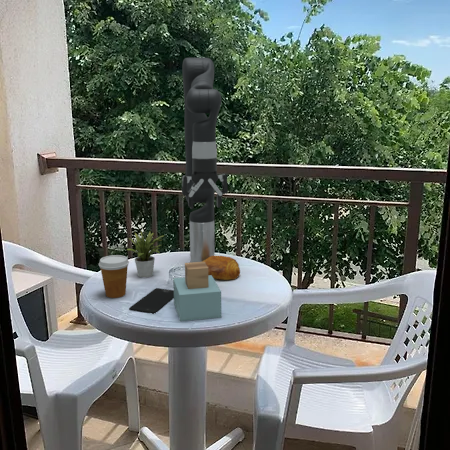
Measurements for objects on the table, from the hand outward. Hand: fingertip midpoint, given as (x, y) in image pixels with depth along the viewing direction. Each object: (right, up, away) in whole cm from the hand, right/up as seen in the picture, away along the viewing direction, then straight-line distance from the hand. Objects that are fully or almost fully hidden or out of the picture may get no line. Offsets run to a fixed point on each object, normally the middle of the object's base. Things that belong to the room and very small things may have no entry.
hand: (205, 207), depth 160 cm
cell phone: (-16, -30, -1) cm, 34 cm away
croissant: (+5, -24, +23) cm, 33 cm away
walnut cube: (-2, -23, -10) cm, 25 cm away
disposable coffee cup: (-29, -28, +4) cm, 41 cm away
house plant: (-22, -24, +21) cm, 39 cm away
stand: (-2, -31, -8) cm, 32 cm away
